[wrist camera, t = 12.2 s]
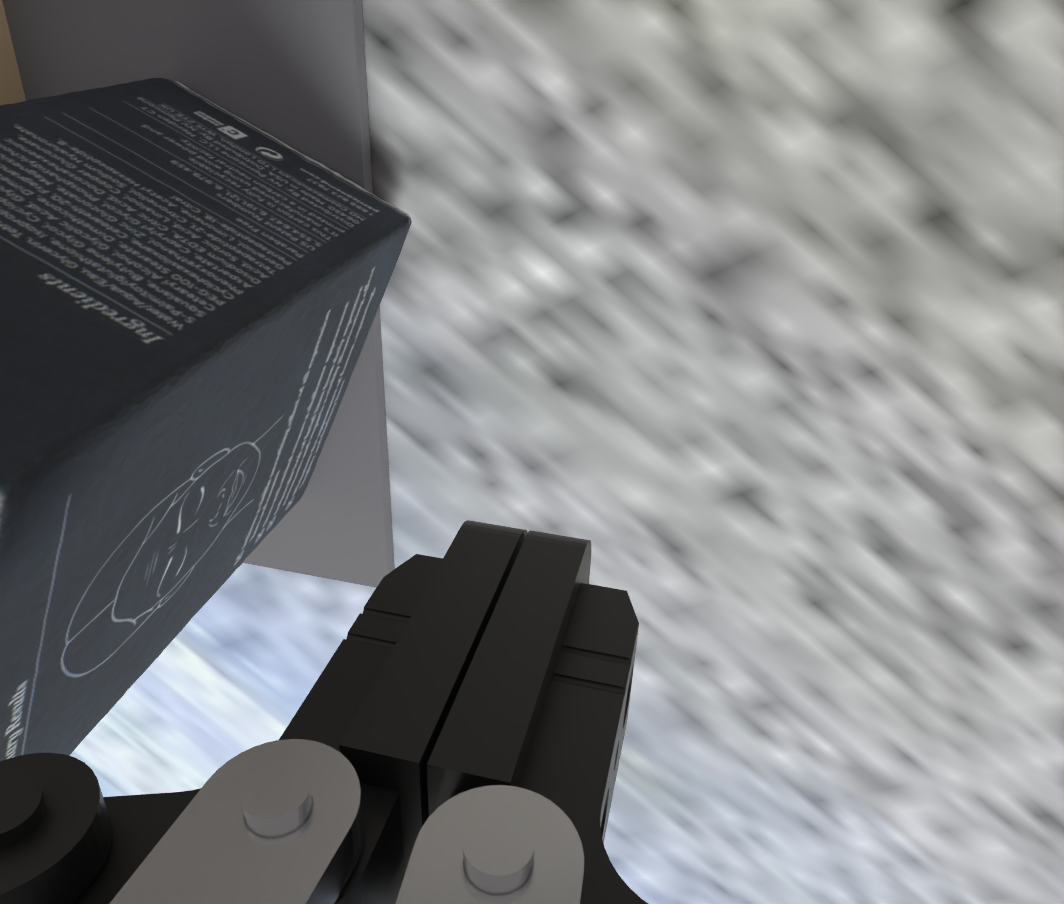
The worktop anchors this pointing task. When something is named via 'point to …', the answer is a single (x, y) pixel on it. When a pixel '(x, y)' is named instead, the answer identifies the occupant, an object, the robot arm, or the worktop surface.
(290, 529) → the mat
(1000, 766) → the worktop surface
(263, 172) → the box
